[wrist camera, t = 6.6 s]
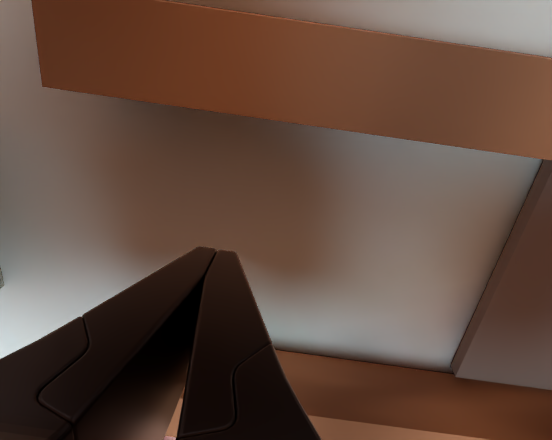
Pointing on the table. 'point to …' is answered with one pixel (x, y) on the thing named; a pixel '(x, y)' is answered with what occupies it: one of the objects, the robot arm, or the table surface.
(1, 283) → the block
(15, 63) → the table surface
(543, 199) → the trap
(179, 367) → the robot arm
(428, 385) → the channel
